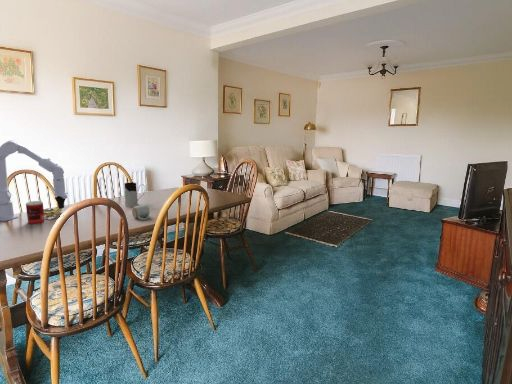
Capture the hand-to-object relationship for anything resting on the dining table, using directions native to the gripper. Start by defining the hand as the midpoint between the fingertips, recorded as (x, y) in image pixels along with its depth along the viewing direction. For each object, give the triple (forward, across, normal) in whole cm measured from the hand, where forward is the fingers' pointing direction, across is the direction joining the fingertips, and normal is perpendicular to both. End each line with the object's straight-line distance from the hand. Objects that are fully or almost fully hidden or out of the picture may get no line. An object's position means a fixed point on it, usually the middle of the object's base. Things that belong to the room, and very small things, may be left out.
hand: (61, 208), depth 194 cm
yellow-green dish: (+2, 0, +5) cm, 6 cm away
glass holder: (+3, -11, -42) cm, 44 cm away
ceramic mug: (+4, -42, -28) cm, 50 cm away
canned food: (+3, -9, +16) cm, 19 cm away
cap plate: (+3, -1, +7) cm, 8 cm away
